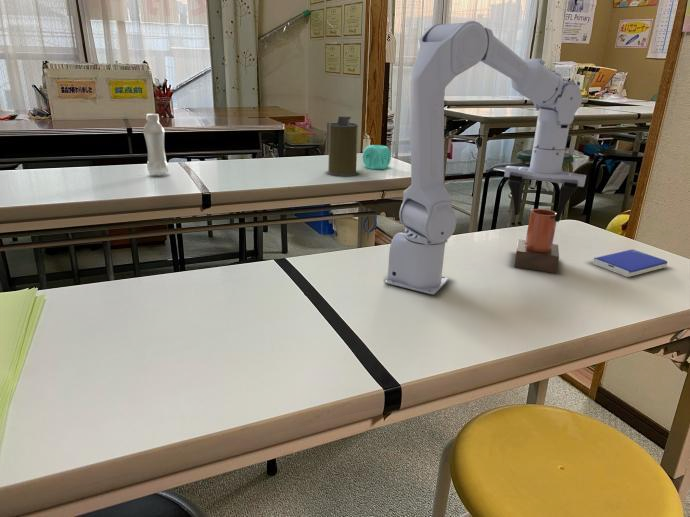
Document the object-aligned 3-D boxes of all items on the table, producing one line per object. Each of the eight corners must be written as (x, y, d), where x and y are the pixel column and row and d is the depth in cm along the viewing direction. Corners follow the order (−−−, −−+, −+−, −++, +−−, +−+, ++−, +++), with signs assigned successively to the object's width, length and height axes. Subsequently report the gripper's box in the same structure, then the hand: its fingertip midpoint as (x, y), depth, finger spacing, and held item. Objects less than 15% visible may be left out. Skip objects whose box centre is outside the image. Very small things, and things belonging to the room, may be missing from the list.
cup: (528, 251, 103) (534, 215, 100) (522, 243, 108) (528, 208, 105) (554, 252, 102) (561, 216, 100) (547, 244, 107) (553, 209, 105)
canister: (359, 171, 189) (361, 115, 182) (352, 177, 180) (354, 118, 173) (331, 169, 192) (332, 114, 185) (323, 174, 182) (323, 116, 175)
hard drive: (631, 248, 112) (593, 256, 107) (668, 260, 106) (630, 270, 100) (629, 255, 113) (592, 263, 107) (666, 267, 106) (628, 277, 101)
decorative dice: (361, 167, 197) (362, 146, 195) (373, 164, 203) (374, 144, 201) (379, 170, 193) (380, 148, 190) (390, 167, 199) (391, 146, 196)
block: (513, 267, 104) (516, 250, 103) (515, 254, 111) (518, 239, 110) (556, 273, 102) (559, 256, 100) (555, 260, 109) (558, 244, 107)
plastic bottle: (165, 177, 170) (159, 115, 163) (145, 177, 170) (138, 114, 163) (171, 173, 176) (166, 113, 169) (152, 173, 176) (145, 112, 169)
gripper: (593, 149, 96) (578, 218, 101) (514, 141, 103) (504, 207, 108) (588, 154, 91) (574, 227, 96) (506, 145, 97) (496, 214, 102)
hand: (536, 217), depth 101 cm, fingers open, 7 cm apart
